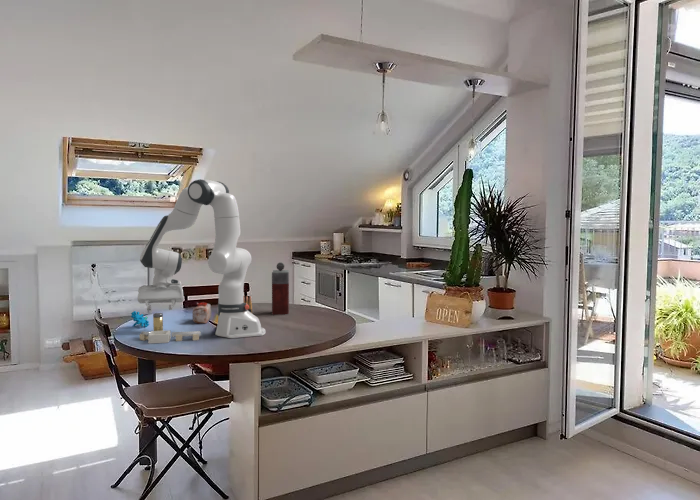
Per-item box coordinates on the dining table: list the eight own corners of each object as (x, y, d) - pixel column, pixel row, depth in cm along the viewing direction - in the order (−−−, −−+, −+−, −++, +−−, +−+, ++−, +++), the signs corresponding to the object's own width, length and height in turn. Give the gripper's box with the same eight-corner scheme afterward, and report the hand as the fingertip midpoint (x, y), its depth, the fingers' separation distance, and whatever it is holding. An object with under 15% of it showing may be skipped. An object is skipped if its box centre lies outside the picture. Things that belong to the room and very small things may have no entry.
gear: (141, 326, 250) (129, 310, 252) (133, 334, 251) (120, 318, 253) (154, 324, 261) (142, 309, 263) (146, 332, 262) (134, 317, 264)
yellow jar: (163, 334, 241) (163, 312, 240) (162, 336, 237) (162, 314, 236) (154, 334, 240) (153, 313, 239) (152, 337, 236) (152, 314, 235)
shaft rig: (201, 336, 236) (201, 329, 236) (200, 341, 228) (200, 333, 228) (151, 339, 232) (151, 331, 232) (148, 343, 224) (148, 335, 224)
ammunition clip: (252, 318, 279) (252, 295, 278) (251, 318, 277) (251, 296, 276) (232, 317, 279) (232, 295, 278) (231, 318, 277) (231, 295, 276)
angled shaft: (152, 338, 232) (152, 331, 232) (147, 340, 229) (147, 332, 228) (145, 338, 233) (145, 330, 233) (139, 340, 230) (139, 332, 230)
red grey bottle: (289, 310, 300) (289, 261, 298) (288, 314, 289) (288, 263, 287) (273, 310, 299) (273, 261, 297) (272, 314, 288) (271, 263, 286)
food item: (208, 324, 264) (207, 304, 263) (191, 324, 263) (191, 304, 262) (212, 318, 277) (211, 299, 277) (196, 318, 276) (196, 300, 276)
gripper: (138, 281, 248) (134, 306, 239) (183, 280, 252) (182, 304, 243) (140, 289, 252) (136, 313, 243) (185, 288, 256) (183, 312, 248)
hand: (159, 309), depth 243 cm, fingers open, 8 cm apart
